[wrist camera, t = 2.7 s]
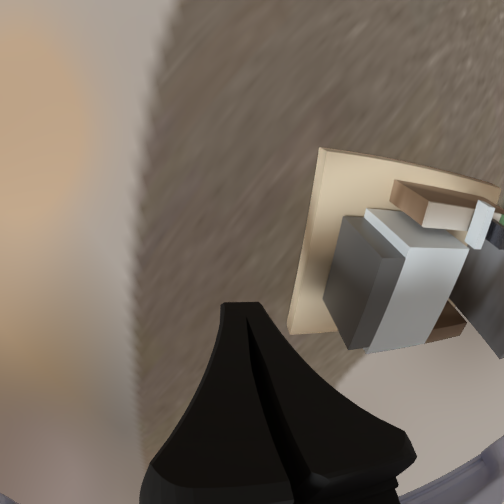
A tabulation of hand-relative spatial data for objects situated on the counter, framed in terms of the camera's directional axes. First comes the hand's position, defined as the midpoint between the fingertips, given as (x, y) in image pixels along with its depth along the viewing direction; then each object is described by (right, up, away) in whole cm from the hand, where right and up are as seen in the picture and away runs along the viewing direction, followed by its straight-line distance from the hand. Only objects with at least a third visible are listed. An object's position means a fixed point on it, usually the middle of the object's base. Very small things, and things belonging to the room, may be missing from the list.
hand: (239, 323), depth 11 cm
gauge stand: (+10, +3, +7) cm, 12 cm away
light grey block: (+8, +3, +5) cm, 10 cm away
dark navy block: (+12, +4, +1) cm, 13 cm away
